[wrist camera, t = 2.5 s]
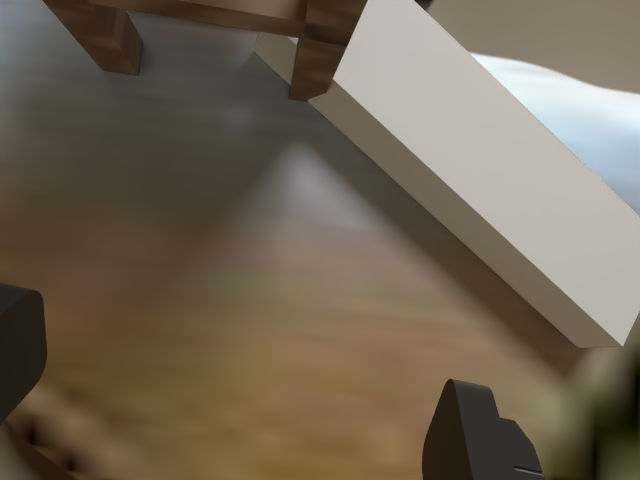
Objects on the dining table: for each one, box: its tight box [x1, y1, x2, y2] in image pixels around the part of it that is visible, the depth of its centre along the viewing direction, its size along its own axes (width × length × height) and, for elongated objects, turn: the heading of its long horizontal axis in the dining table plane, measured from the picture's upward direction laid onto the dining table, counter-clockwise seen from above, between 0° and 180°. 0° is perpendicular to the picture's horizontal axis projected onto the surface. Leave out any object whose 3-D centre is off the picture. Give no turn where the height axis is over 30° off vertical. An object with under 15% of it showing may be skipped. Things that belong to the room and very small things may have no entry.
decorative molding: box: [254, 0, 640, 348], centre depth 39 cm, size 34×5×10 cm
